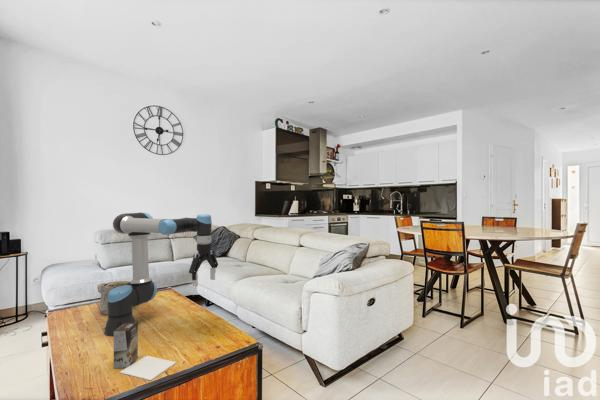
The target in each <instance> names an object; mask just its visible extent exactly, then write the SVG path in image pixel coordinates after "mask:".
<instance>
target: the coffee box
mask: <svg viewBox="0 0 600 400" xmlns="http://www.w3.org/2000/svg"><path fill="white" fill-rule="evenodd" d="M138 325H139V322H136V321H135V322H132V323H124V324H122V325H121V326H120V327H118V328H117V329H116V330H114V336H113V369H125V368H127V367H129V366H130V365H132V364H134V363H135V361H136V360H137V359H138V357H139V348H138V347H139V340H138V339H139V338H138V337H139V329H138V328H139V326H138Z"/></svg>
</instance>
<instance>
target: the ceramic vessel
mask: <svg viewBox="0 0 600 400" xmlns="http://www.w3.org/2000/svg"><path fill="white" fill-rule="evenodd" d="M130 282H131V281H128V280H118V281H116V280H115V281H110V282H107V283H106V282H103V283H99V284H98V285H96V286H97V292H98V293H99V294H100V301H99V307H98V310H99V312H100V313H101V314H103V315H105V316H108V300H107V299H108V293H109V291H110V290H112V289H113V288H116V287H119V286H123V285H130Z"/></svg>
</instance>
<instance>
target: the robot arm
mask: <svg viewBox="0 0 600 400" xmlns="http://www.w3.org/2000/svg"><path fill="white" fill-rule="evenodd" d="M212 223H213V222H212V215H210V214H197V215H196V217H181V218H173V219H172V218H154V217H153V216H152V215H151V214H149V212H148V213H147V212H130V213H126V212H125V213H121V214H119V215H117V216H116V217H115V218H114V219H113V222H112V227H113V228H112V229H114V230H115V232H116V233H118V234H123V235H125V234H126V235H127V234H128V237H129V238H130V239H131V261H132V262H131V263H132V267H131V268H132V280H131V281H129V282H130V285H123V286H119V287H116V288H113V289H112V290H110V291H109V293H108V299H107V300H108V315H107V320H106V323H105V327H104V329H103V331H104V335H105V336H108V337H109V336H110V337H114V330H116V329H117V328H118V327H120V326H121V325H122V324H124V323H132V322H136V321H135V318H134V315H133V308H134V307H136V306H137V307H138V306H139V305H143V304H146V303H148V302H150V301H152V300H153V299H154V298H155V297H156V295H157V293H158V287H157V284H156V282H154V281H153V279H152V277H150V267H149V265H150V262H149V244H148V243H149V240H148V237H149V236H151V233H152V234H161V235H164V236H165V235H166V236H168V235H169V236H170V235H174V234H181V233H182V234H183V233H189V232H190V233H193V232H194V233H196V251H197V253H194V254H193V257H192V261H191V263H190V268H189V270H188V273H189V274H191V280H192V286H193V287H198V286H199V273H198V271H199V269H200V267H201V265H202V263H203V262H205V261H207V262H208V265H210V268H209V269H210V270H209V272H210V273H209V274H210V275H209V276H210V280H212V281H215V280H216V269H217V268H218V266H219V263H218V260H217V257H216V254H215V250H213V249H212V247H213V246H212Z"/></svg>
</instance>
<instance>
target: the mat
mask: <svg viewBox="0 0 600 400" xmlns="http://www.w3.org/2000/svg"><path fill="white" fill-rule="evenodd" d="M176 364H177V361H173V360H168V359H164V358H160V357H155V356H150V355H145V356H144V357H142V358H141V359H139V360H137V361H136V362H135V361H134V362H133V363H132V364H131V365H130V366H129V367H127V368H123V369H122V370H120V371H119V374H121V375H126V376H130V377H133V378H137V379H141V380H146V381H149V382H152V381H154V380H155V379H156V378H157V377H158V376H160V375H161V374H163V373H164V372H166V371H167V370H169V369H170V368H171V367H173V366H175V365H176Z"/></svg>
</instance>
